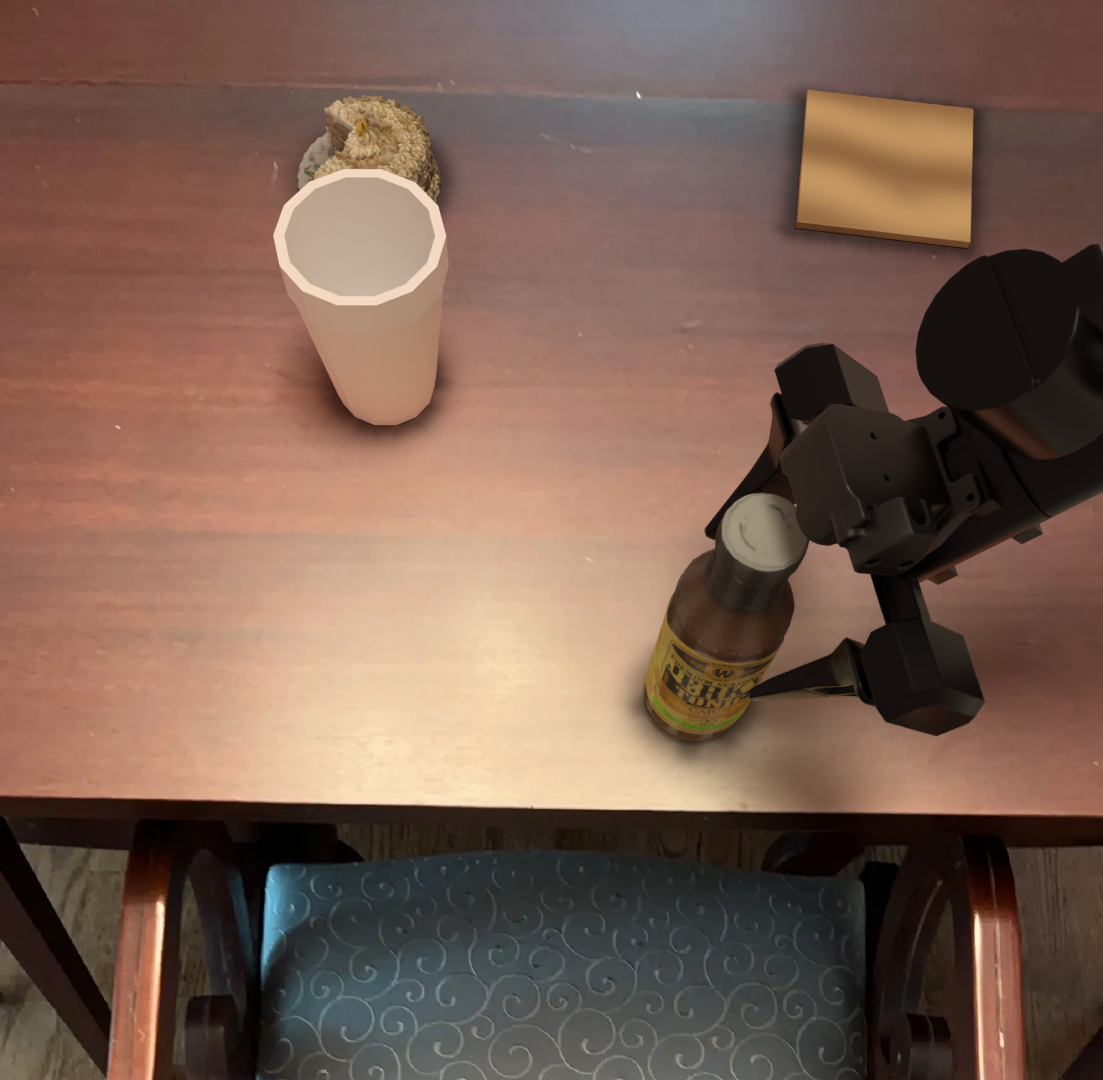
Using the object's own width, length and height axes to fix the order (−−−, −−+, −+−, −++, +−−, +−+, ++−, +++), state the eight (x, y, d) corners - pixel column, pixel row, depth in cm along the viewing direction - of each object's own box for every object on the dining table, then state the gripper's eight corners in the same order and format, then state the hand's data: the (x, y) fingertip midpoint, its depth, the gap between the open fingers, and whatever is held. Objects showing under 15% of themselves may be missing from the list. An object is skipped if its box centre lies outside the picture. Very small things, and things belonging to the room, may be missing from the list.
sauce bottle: (636, 739, 70) (677, 582, 51) (648, 644, 71) (691, 458, 53) (744, 753, 69) (825, 601, 50) (752, 657, 71) (833, 476, 52)
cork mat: (805, 96, 85) (807, 88, 84) (970, 115, 85) (973, 108, 84) (795, 227, 81) (797, 221, 81) (967, 248, 81) (970, 241, 81)
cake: (441, 131, 84) (442, 66, 79) (441, 246, 81) (442, 186, 76) (300, 123, 83) (292, 55, 78) (295, 239, 80) (286, 177, 75)
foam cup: (482, 357, 78) (474, 205, 65) (419, 466, 75) (398, 330, 63) (355, 305, 79) (323, 146, 66) (288, 411, 76) (242, 266, 64)
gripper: (874, 199, 47) (590, 409, 57) (1019, 614, 41) (677, 768, 51) (986, 307, 55) (721, 474, 65) (1120, 666, 50) (808, 791, 59)
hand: (730, 614), depth 60 cm, fingers open, 9 cm apart
